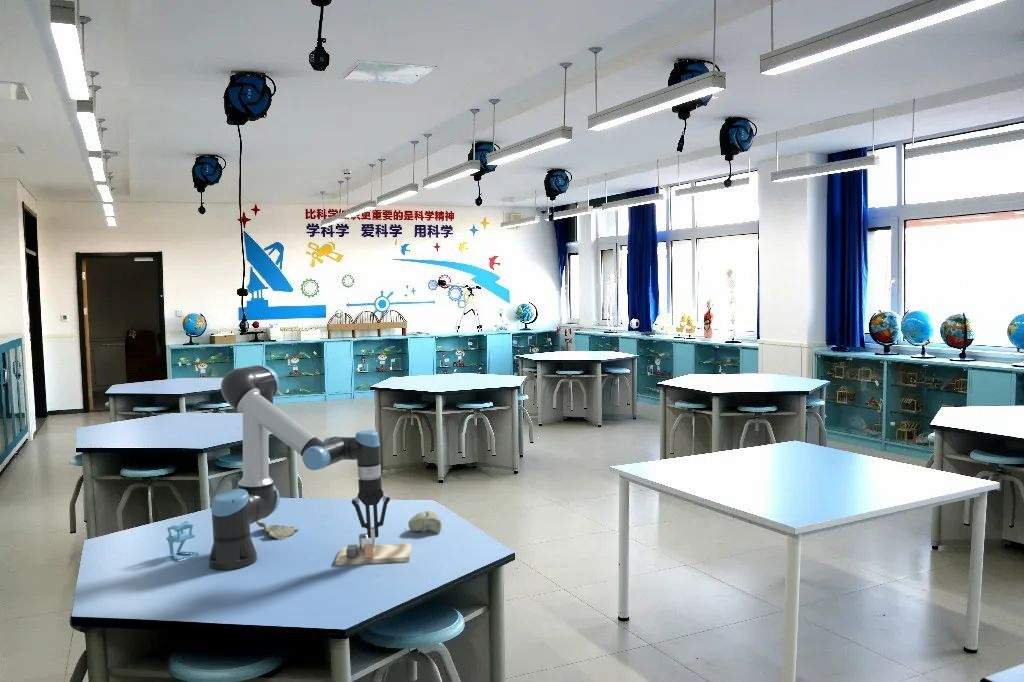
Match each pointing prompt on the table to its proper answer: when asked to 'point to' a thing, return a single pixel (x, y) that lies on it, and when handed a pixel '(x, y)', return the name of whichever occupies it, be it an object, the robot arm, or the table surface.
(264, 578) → the table surface
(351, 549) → the block
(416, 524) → the seashell
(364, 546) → the bar
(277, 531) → the dried leaf
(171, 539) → the chair
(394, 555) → the plate
